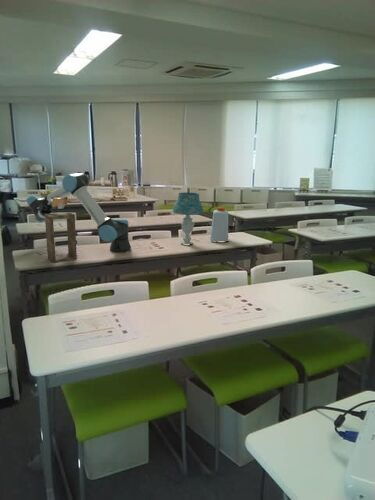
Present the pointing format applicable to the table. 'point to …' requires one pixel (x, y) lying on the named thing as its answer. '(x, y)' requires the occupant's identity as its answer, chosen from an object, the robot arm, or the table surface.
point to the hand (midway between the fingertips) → (53, 199)
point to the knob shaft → (57, 203)
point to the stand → (70, 233)
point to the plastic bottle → (219, 225)
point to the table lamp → (188, 212)
